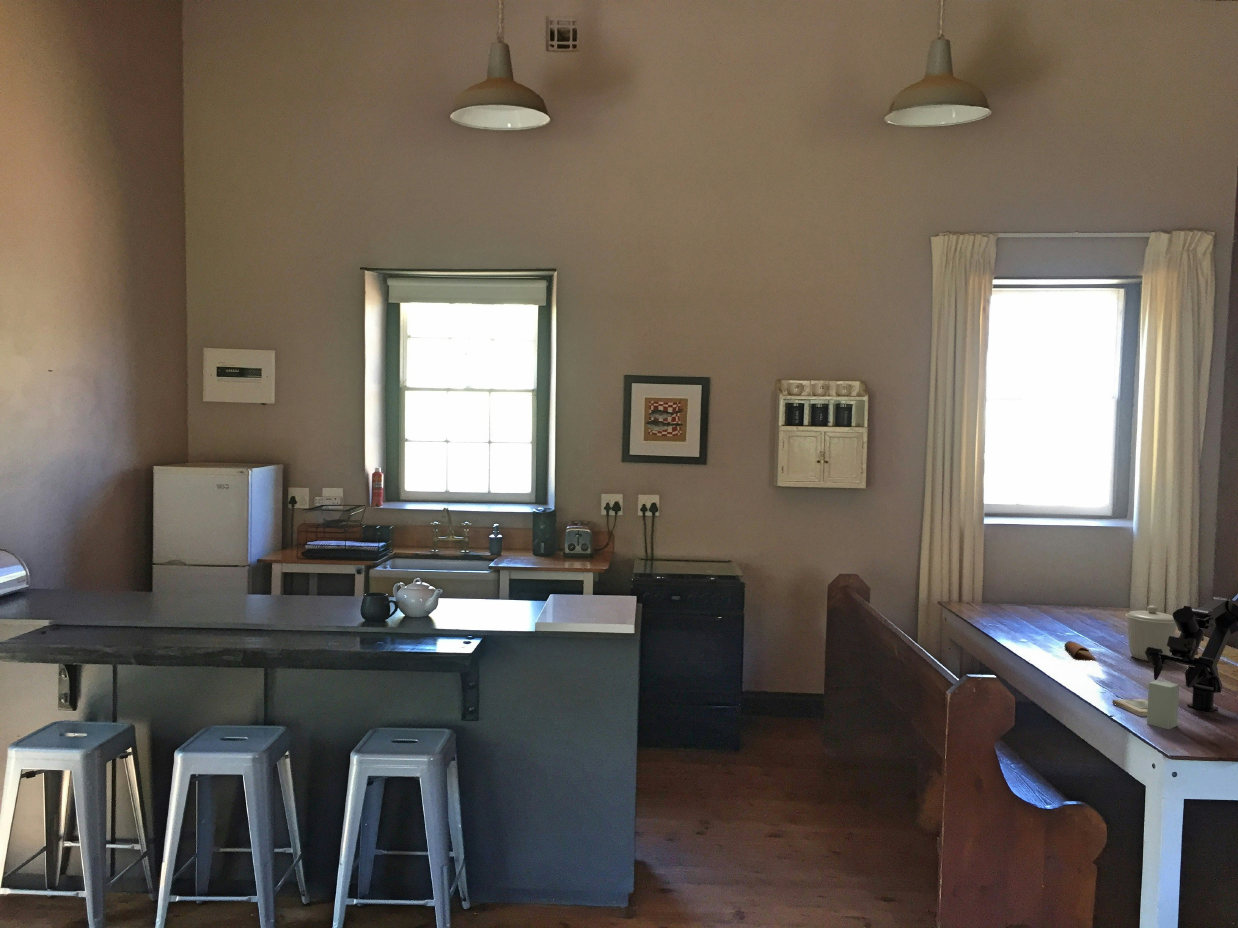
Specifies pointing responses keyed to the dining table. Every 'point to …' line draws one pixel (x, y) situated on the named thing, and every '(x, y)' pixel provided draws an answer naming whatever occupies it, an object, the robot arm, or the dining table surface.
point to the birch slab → (1134, 705)
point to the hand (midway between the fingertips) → (1171, 683)
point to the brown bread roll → (1079, 651)
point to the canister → (1149, 631)
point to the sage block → (1163, 704)
